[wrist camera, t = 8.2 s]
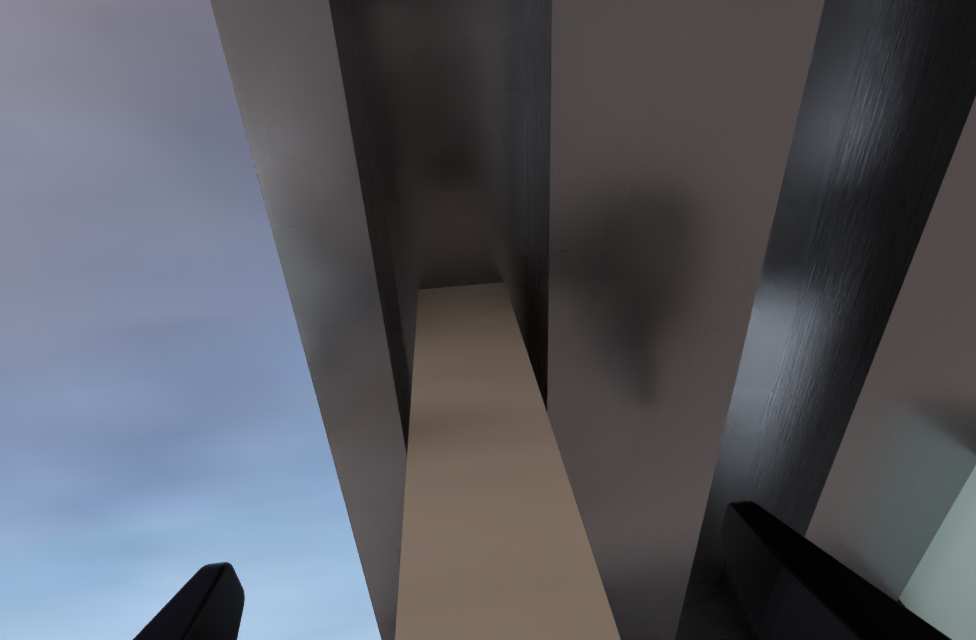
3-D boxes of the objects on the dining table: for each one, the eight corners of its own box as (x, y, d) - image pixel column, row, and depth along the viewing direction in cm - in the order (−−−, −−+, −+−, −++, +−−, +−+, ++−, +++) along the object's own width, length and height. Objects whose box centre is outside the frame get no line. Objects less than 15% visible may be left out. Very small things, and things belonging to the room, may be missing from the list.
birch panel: (511, 470, 14) (611, 989, 6) (443, 478, 14) (456, 1018, 6) (504, 282, 11) (670, 793, 3) (418, 289, 11) (382, 840, 3)
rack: (898, 555, 20) (1107, 775, 14) (410, 618, 19) (398, 892, 12) (1292, -174, 10) (2867, -609, 3) (248, -147, 8) (-307, -779, 2)
